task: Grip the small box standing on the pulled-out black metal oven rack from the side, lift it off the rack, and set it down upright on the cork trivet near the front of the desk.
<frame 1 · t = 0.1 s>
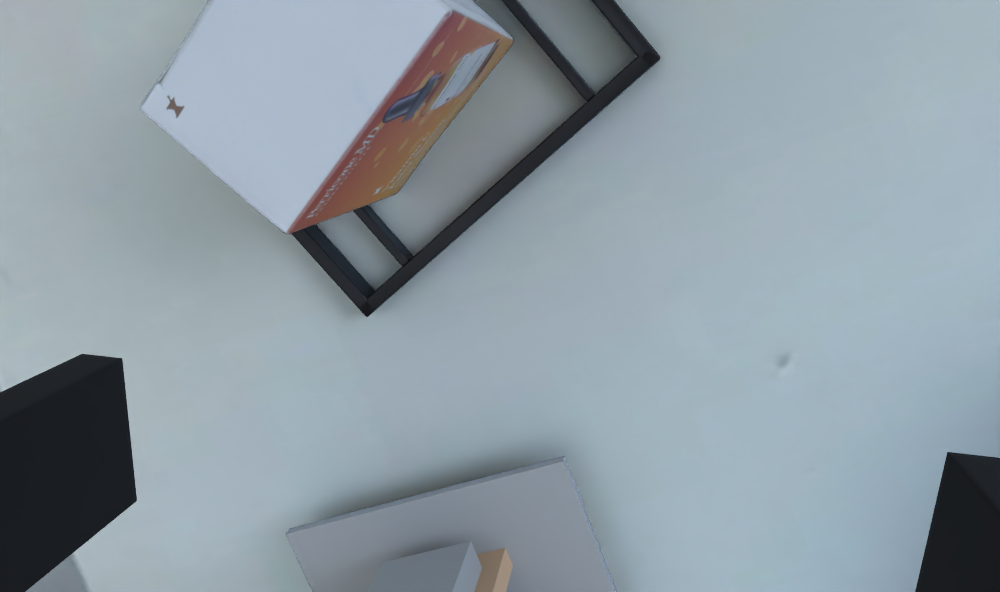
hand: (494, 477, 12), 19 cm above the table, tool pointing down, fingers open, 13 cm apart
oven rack: (403, 74, 30), on the table
small box: (404, 74, 30), resting on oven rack
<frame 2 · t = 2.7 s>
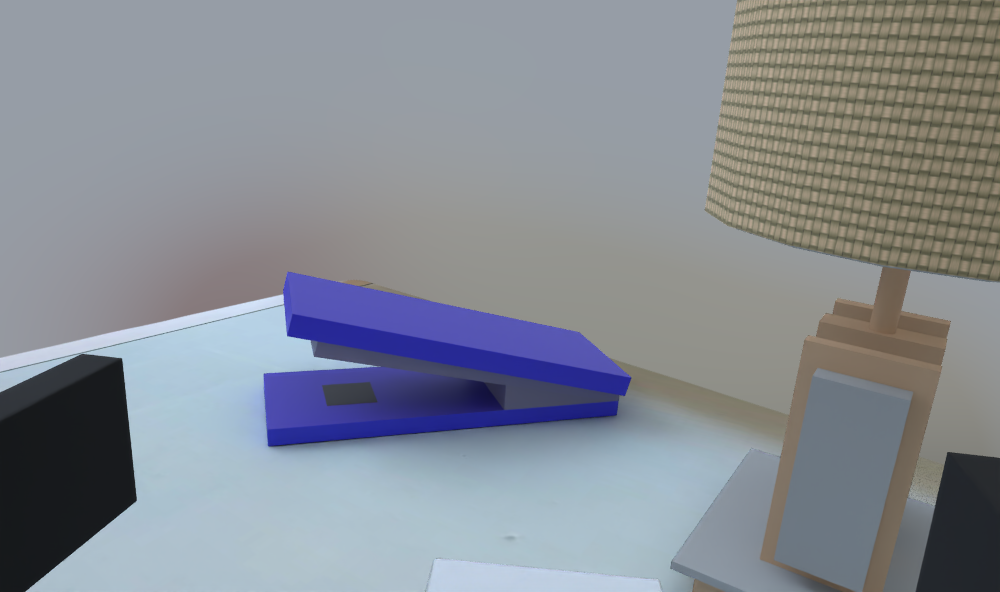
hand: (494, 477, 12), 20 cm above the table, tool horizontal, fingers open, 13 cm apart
desk lamp: (824, 575, 43), on the table
stapler: (444, 404, 61), on the table
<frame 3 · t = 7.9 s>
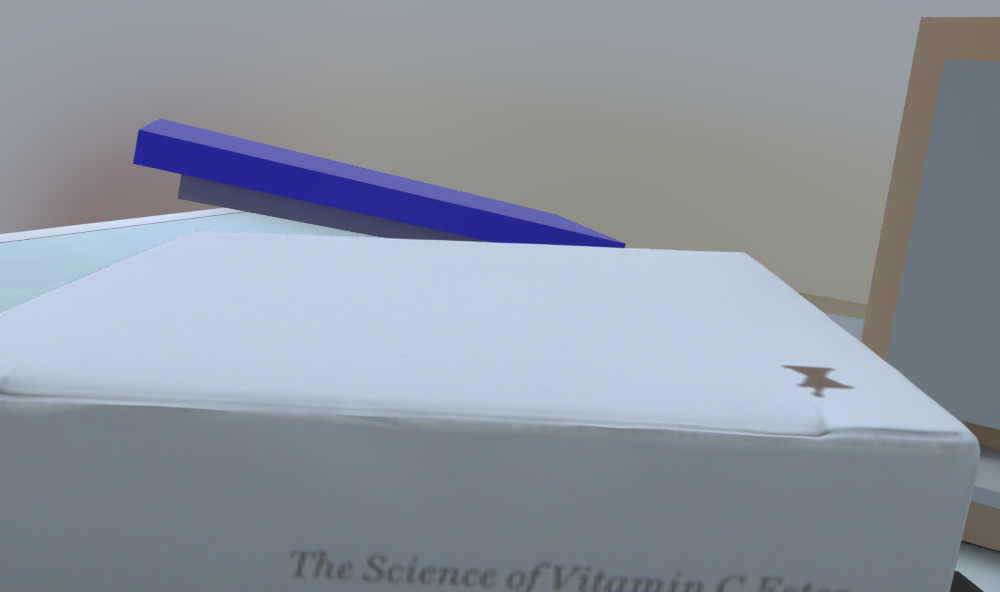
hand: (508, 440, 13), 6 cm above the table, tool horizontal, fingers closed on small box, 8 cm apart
desk lamp: (934, 451, 28), on the table
stapler: (379, 293, 46), on the table
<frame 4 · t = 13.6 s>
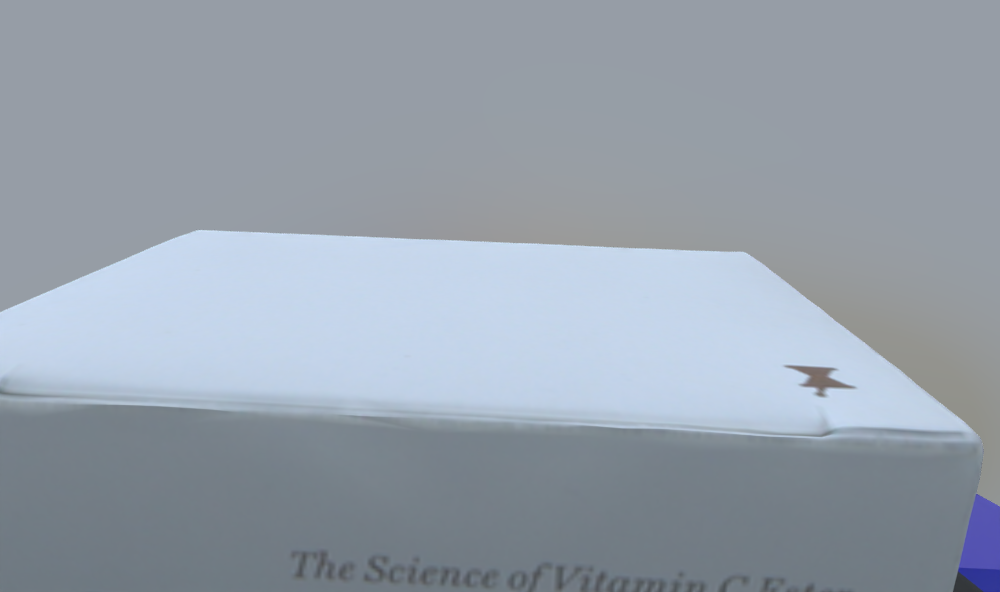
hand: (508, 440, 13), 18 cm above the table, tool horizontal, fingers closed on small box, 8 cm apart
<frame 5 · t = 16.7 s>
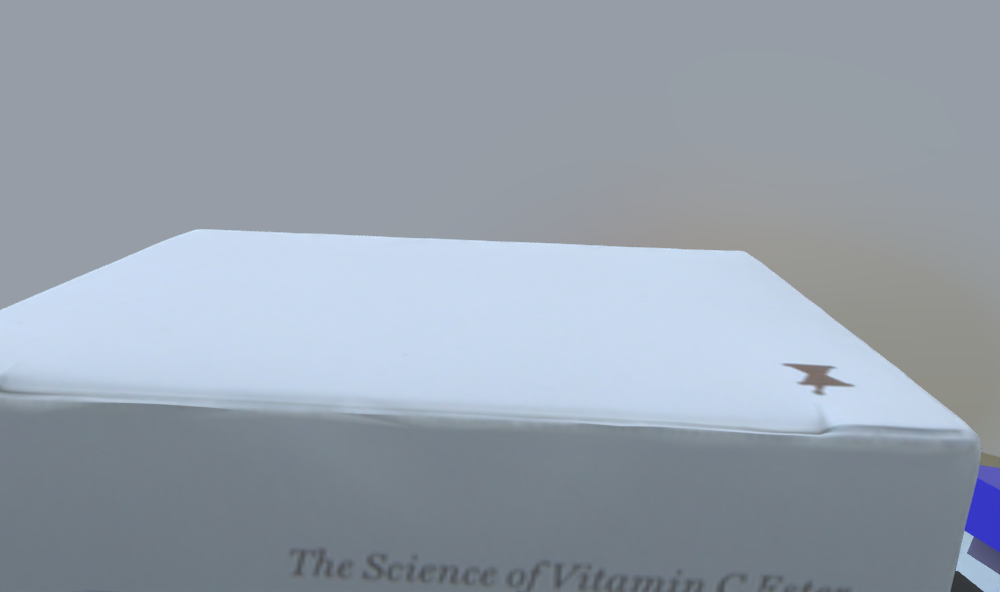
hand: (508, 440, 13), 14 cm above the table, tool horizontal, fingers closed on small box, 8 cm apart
when the fingers open (7 cm above the table, at t = 19.1 s): small box stays where it is, resting on trivet.
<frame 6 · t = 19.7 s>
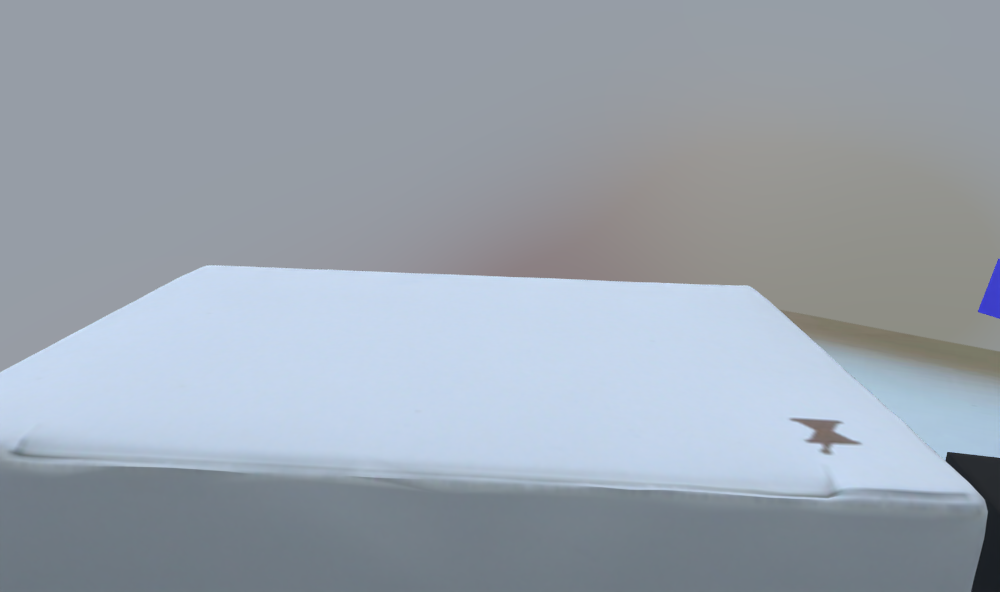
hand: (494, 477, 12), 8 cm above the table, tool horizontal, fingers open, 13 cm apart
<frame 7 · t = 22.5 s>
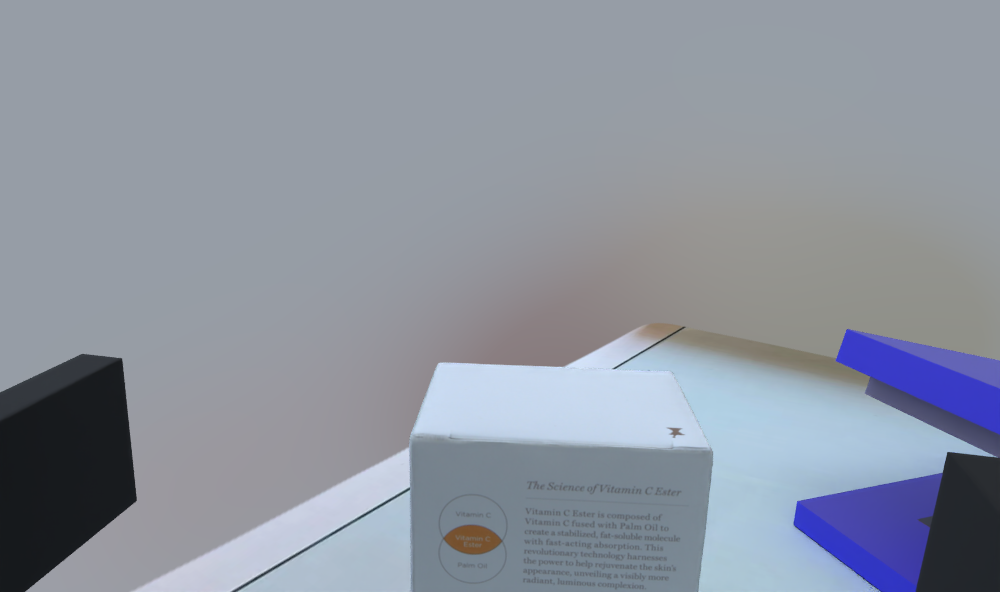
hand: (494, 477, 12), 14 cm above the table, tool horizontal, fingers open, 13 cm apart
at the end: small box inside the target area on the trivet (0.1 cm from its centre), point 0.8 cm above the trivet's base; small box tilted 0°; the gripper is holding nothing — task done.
